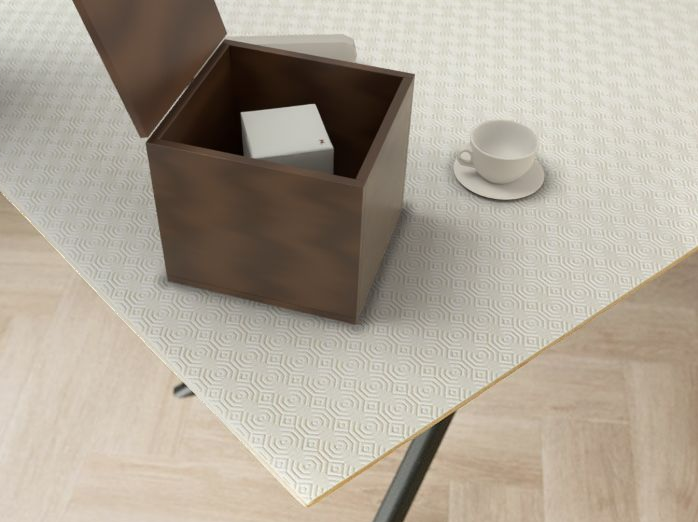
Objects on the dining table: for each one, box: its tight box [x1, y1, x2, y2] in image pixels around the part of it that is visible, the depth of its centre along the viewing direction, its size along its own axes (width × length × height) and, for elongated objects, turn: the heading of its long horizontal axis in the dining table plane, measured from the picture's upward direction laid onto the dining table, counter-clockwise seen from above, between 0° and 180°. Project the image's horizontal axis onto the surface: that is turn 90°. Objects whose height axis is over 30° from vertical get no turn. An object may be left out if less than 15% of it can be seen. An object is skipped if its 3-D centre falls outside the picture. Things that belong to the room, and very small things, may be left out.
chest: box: [145, 39, 416, 326], centre depth 86 cm, size 19×18×16 cm
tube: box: [192, 33, 358, 80], centre depth 110 cm, size 5×5×25 cm
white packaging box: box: [241, 104, 334, 175], centre depth 86 cm, size 7×7×13 cm
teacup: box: [452, 118, 546, 201], centre depth 98 cm, size 10×10×5 cm
